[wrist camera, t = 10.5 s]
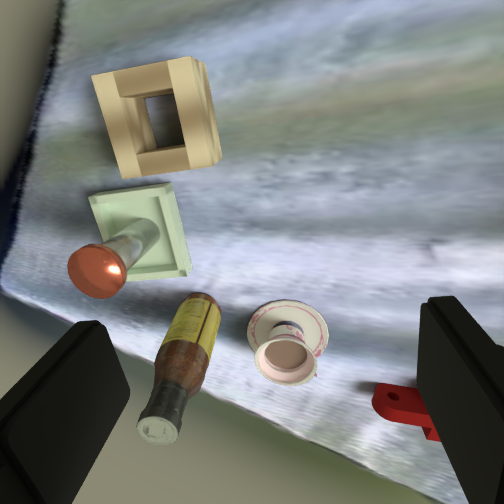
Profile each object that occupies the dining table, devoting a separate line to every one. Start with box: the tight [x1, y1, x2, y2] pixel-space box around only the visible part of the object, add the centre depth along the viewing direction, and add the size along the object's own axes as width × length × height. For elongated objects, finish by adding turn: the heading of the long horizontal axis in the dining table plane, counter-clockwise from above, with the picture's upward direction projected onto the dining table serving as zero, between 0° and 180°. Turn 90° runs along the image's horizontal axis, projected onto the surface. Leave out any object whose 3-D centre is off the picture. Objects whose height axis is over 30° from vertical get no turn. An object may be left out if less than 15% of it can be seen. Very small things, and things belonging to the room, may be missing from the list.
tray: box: [88, 182, 193, 282], centre depth 43 cm, size 12×10×3 cm
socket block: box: [91, 56, 222, 179], centre depth 36 cm, size 10×10×6 cm
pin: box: [67, 218, 160, 299], centre depth 38 cm, size 6×6×12 cm
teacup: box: [247, 300, 329, 386], centre depth 46 cm, size 12×12×6 cm
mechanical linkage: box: [372, 383, 441, 442], centre depth 49 cm, size 16×7×5 cm, turn 84°
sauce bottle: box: [137, 293, 221, 445], centre depth 40 cm, size 7×6×20 cm
